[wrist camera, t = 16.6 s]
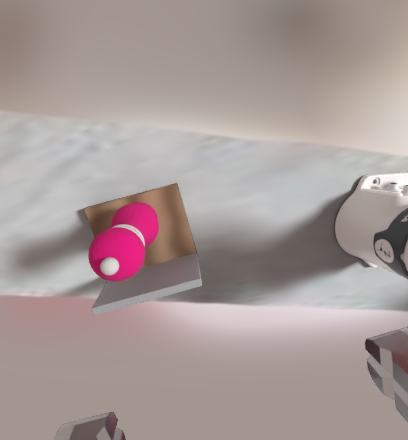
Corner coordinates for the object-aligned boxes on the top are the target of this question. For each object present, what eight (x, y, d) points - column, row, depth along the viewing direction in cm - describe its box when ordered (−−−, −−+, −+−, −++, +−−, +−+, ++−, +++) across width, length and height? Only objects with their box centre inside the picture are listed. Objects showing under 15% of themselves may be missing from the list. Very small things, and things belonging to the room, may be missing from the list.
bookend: (177, 182, 45) (175, 192, 33) (197, 254, 49) (202, 285, 37) (88, 206, 45) (55, 224, 33) (115, 277, 48) (94, 315, 37)
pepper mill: (130, 246, 45) (91, 314, 26) (110, 209, 43) (53, 252, 24) (167, 229, 45) (157, 286, 26) (149, 192, 43) (124, 222, 24)
